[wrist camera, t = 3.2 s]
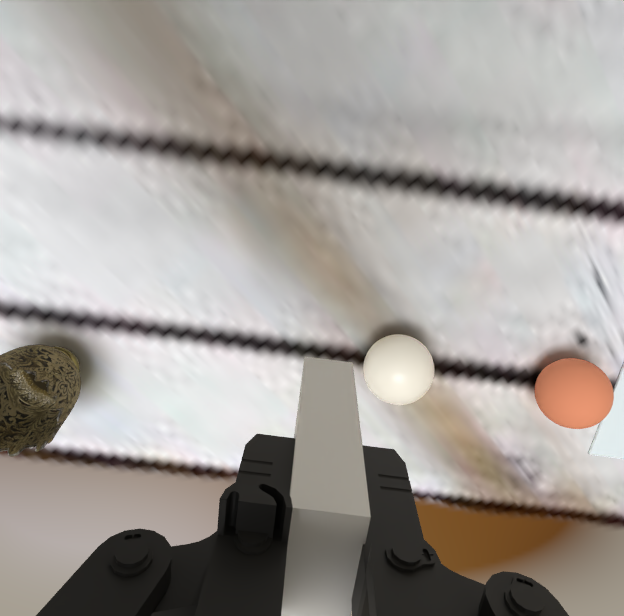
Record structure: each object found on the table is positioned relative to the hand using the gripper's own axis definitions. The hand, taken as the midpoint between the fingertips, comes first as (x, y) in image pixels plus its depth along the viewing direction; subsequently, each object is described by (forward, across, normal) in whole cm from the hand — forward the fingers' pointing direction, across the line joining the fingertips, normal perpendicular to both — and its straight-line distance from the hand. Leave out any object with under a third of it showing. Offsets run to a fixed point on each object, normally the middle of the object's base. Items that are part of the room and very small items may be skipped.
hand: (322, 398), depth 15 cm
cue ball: (+21, +7, -8) cm, 24 cm away
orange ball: (+21, +21, -9) cm, 31 cm away
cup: (+24, -21, -13) cm, 35 cm away
